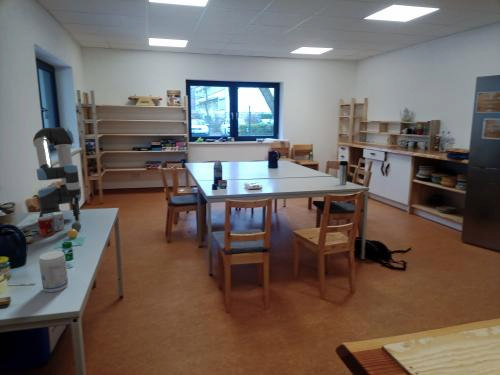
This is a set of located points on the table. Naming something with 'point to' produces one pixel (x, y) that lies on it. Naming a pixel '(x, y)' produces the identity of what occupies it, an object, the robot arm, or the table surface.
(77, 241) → the teal mark
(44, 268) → the supplement tub
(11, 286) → the table surface
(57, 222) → the light bulb box
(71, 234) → the orange ball
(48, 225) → the canned food
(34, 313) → the table surface
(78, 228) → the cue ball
